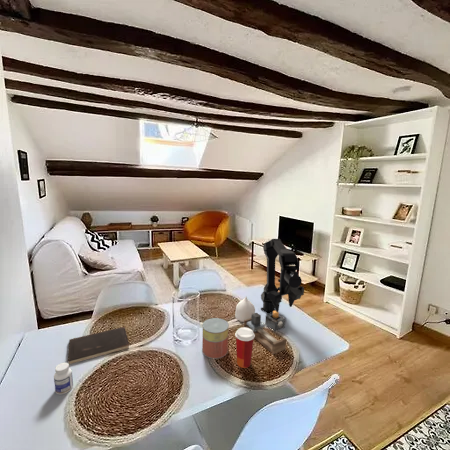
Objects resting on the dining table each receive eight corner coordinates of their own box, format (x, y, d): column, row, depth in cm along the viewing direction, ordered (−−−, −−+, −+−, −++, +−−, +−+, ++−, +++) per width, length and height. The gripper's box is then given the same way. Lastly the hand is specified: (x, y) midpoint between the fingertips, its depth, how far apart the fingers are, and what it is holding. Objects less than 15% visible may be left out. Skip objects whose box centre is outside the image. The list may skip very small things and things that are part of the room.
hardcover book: (129, 349, 111) (129, 344, 111) (67, 366, 100) (67, 361, 100) (124, 330, 125) (124, 325, 124) (69, 343, 114) (69, 338, 114)
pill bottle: (60, 383, 91) (58, 361, 90) (75, 382, 92) (74, 360, 90) (52, 395, 86) (49, 372, 85) (68, 394, 87) (66, 371, 85)
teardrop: (242, 324, 132) (243, 302, 130) (231, 314, 142) (231, 294, 139) (259, 319, 137) (260, 298, 135) (247, 309, 147) (248, 290, 145)
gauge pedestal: (265, 324, 132) (265, 315, 131) (275, 320, 136) (275, 312, 135) (274, 331, 126) (275, 322, 125) (285, 327, 130) (285, 318, 129)
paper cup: (253, 357, 107) (254, 327, 105) (253, 371, 100) (254, 338, 97) (234, 356, 108) (235, 325, 105) (233, 369, 100) (234, 337, 98)
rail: (243, 328, 128) (244, 320, 127) (254, 324, 132) (255, 316, 131) (273, 354, 110) (274, 344, 109) (285, 349, 113) (286, 339, 112)
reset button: (271, 319, 131) (271, 311, 130) (275, 317, 133) (275, 310, 132) (275, 321, 128) (275, 314, 128) (279, 320, 130) (280, 312, 129)
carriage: (246, 327, 126) (247, 313, 125) (256, 323, 130) (257, 310, 128) (254, 333, 121) (254, 319, 120) (264, 329, 125) (265, 316, 123)
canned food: (210, 339, 119) (210, 315, 117) (232, 346, 114) (232, 322, 112) (197, 353, 109) (197, 327, 107) (220, 362, 104) (221, 335, 102)
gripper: (285, 289, 108) (282, 322, 111) (313, 280, 118) (310, 311, 121) (267, 280, 117) (265, 311, 120) (294, 272, 127) (292, 301, 130)
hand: (283, 309), depth 122 cm, fingers open, 9 cm apart
